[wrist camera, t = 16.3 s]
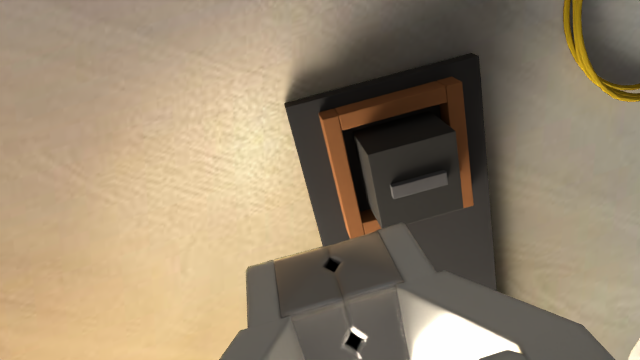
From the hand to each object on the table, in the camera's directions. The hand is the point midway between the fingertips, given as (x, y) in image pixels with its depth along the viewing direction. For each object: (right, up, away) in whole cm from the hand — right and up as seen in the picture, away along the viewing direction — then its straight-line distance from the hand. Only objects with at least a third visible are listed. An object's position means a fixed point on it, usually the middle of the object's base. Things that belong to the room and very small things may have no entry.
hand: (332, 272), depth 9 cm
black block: (+5, +3, +21) cm, 22 cm away
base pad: (+7, -6, +27) cm, 28 cm away
